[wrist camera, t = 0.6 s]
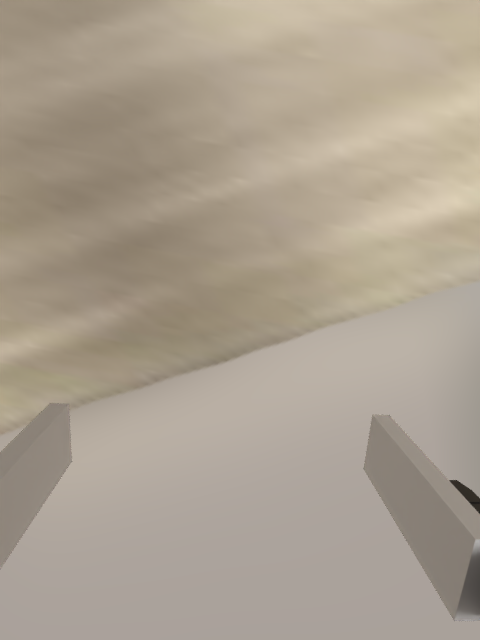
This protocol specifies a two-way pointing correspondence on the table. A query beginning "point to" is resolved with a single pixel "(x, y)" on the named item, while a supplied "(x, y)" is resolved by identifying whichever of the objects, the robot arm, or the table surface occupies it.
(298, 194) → the table surface
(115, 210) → the table surface
